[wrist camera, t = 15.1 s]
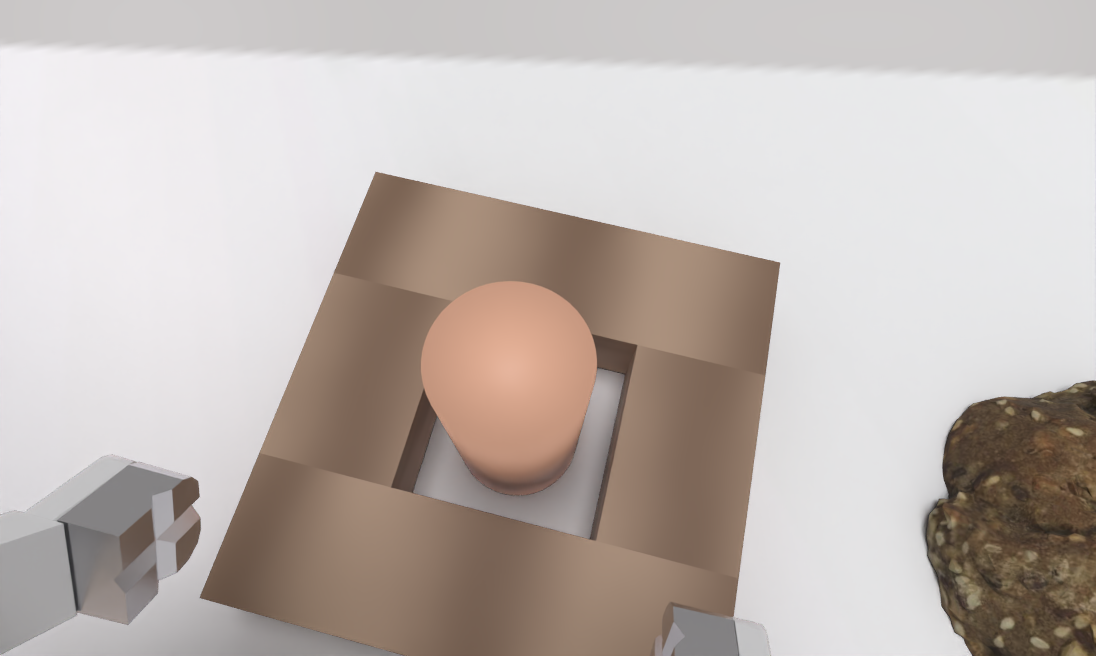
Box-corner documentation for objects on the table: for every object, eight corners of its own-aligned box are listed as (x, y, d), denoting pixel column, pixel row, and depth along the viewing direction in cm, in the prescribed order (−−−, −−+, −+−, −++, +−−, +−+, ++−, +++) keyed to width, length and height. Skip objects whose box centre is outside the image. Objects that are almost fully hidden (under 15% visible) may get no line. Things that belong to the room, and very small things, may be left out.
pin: (444, 478, 22) (396, 423, 14) (478, 367, 23) (451, 264, 16) (561, 508, 21) (575, 468, 14) (588, 394, 23) (613, 302, 15)
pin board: (245, 596, 20) (199, 597, 18) (393, 217, 25) (375, 172, 23) (690, 720, 19) (716, 743, 16) (752, 300, 24) (780, 262, 22)
